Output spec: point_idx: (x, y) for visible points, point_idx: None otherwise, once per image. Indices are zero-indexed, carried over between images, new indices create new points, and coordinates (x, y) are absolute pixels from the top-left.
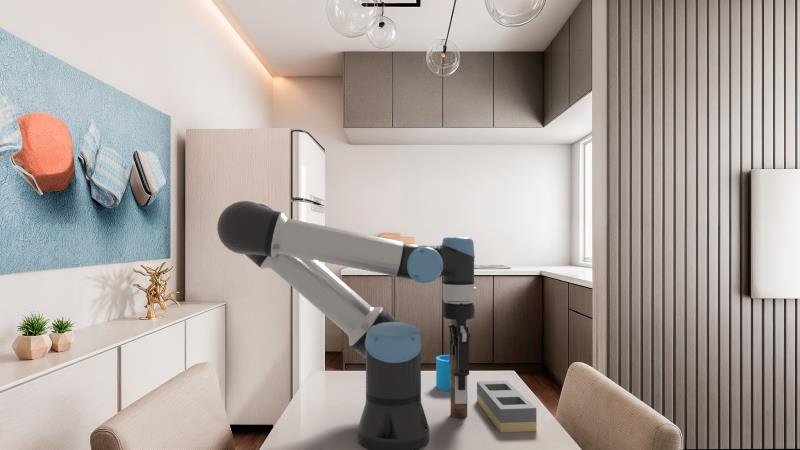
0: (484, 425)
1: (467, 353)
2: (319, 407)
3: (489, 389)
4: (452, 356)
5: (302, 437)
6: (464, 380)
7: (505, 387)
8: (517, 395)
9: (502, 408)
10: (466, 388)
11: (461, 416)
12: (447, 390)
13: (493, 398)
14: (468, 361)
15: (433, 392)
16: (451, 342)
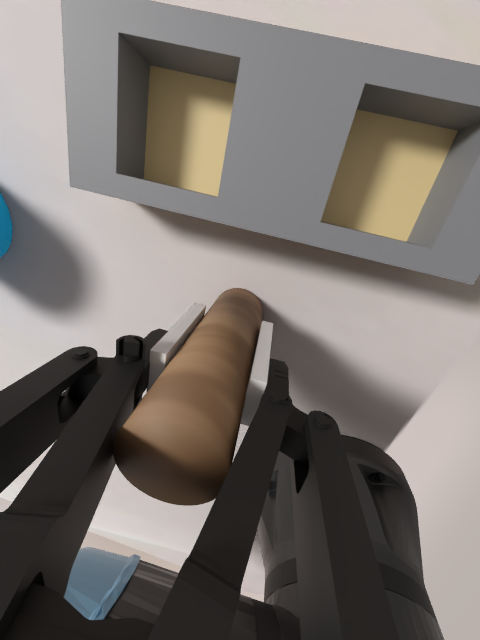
0: (345, 282)
1: (374, 582)
2: (122, 517)
3: (130, 147)
4: (172, 496)
5: (258, 570)
6: (287, 392)
7: (129, 45)
8: (341, 81)
9: (471, 273)
10: (269, 350)
11: (262, 317)
12: (10, 242)
13: (330, 240)
14: (355, 497)
15: (29, 290)
16: (64, 592)
